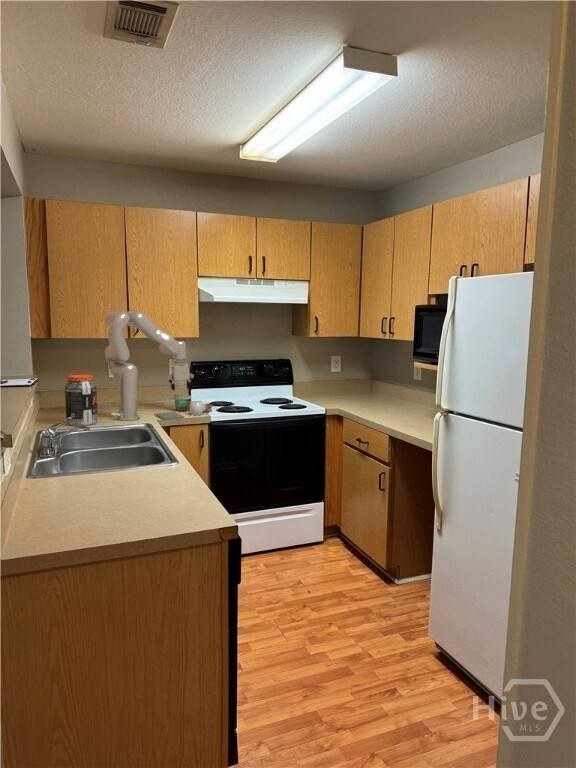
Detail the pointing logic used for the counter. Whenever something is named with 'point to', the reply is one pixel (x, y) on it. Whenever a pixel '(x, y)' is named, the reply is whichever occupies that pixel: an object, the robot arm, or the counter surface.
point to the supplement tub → (81, 400)
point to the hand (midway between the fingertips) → (180, 389)
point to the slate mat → (169, 415)
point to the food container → (182, 403)
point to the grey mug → (197, 408)
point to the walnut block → (208, 408)
